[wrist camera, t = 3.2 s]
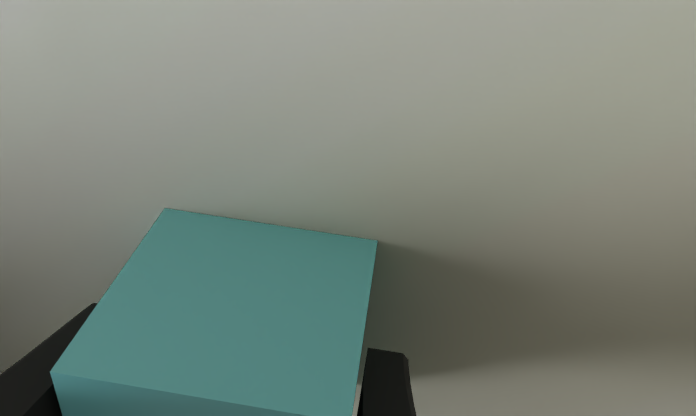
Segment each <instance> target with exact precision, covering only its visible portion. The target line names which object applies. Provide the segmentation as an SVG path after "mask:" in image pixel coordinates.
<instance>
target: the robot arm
mask: <svg viewBox="0 0 696 416" xmlns="http://www.w3.org/2000/svg"><path fill="white" fill-rule="evenodd" d="M97 304H98V303H93V304H91V305H90V306H88V307H87V308H86V309H85V310H83V311H82V312H81V313H79V314H78V315H77V316H75V317H74V318H73V319H72V320H70V321H69V322H68V323H66V324H65V325H64V326H63V327H61V328H60V329H59V330H58V331H56V332H55V333H54V334H52V335H51V336H50V337H49V338H47V339H46V340H45V341H44V342H42V343H41V344H40V345H38V346H37V347H36V348H35V349H33V350H32V351H31V352H29V353H28V354H27V355H26V356H24V357H23V358H22V359H21V360H19V361H18V362H17V363H15V364H14V365H13V366H11V367H10V368H9V369H7V370H6V371H5V372H3V373H2V374H1V375H0V416H62V412H61V409H60V405H59V402H58V398H57V395H56V391H55V388H54V384H53V381H52V377H51V374H50V371H51V370H52V368H53V367H54V365H55V364H56V362H57V361H58V360H59V358H60V357H61V355H62V354H63V352H64V351H65V350H66V348H67V347H68V345H69V344H70V342H71V341H72V340H73V338H74V337H75V335H76V334H77V333H78V331H79V330H80V328H81V327H82V325H83V324H84V323H85V321H86V320H87V318H88V317H89V315H90V314H91V313H92V311H93V310H94V308H95V307H96V305H97ZM357 416H416V412H415V407H414V402H413V396H412V390H411V384H410V376H409V366H408V359H407V357H406V356H405V355H404V354H403V353H397V352H391V351H385V350H379V349H373V348H368V351H367V357H366V363H365V369H364V376H363V382H362V388H361V394H360V401H359V407H358V413H357Z"/></svg>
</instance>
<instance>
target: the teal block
mask: <svg viewBox="0 0 696 416" xmlns="http://www.w3.org/2000/svg"><path fill="white" fill-rule="evenodd" d="M377 242H378V241H376V240H370V239H363V238H357V237H350V236H344V235H337V234H330V233H324V232H317V231H311V230H304V229H298V228H291V227H285V226H278V225H272V224H265V223H259V222H252V221H246V220H239V219H233V218H226V217H219V216H213V215H206V214H200V213H193V212H187V211H180V210H174V209H167V208H165V209H164V210H163V212H162V213H161V214H160V216H159V217H158V219H157V220H156V221H155V223H154V224H153V226H152V227H151V229H150V230H149V231H148V233H147V234H146V236H145V237H144V239H143V240H142V241H141V243H140V244H139V246H138V247H137V249H136V250H135V251H134V253H133V254H132V256H131V257H130V258H129V260H128V261H127V263H126V264H125V266H124V267H123V268H122V270H121V271H120V273H119V274H118V276H117V277H116V278H115V280H114V281H113V283H112V284H111V286H110V287H109V288H108V290H107V291H106V293H105V294H104V296H103V297H102V298H101V300H100V301H99V303H98V304H97V305H96V307H95V308H94V310H93V311H92V313H91V314H90V315H89V317H88V318H87V320H86V321H85V323H84V324H83V325H82V327H81V328H80V330H79V331H78V333H77V334H76V335H75V337H74V338H73V340H72V341H71V342H70V344H69V345H68V347H67V348H66V350H65V351H64V352H63V354H62V355H61V357H60V358H59V360H58V361H57V362H56V364H55V365H54V367H53V368H52V370H51V371H50V374H51V377H52V381H53V384H54V388H55V391H56V395H57V398H58V402H59V405H60V409H61V412H62V416H352V411H353V405H354V398H355V391H356V384H357V378H358V371H359V364H360V357H361V350H362V344H363V337H364V330H365V323H366V317H367V310H368V303H369V296H370V289H371V283H372V276H373V269H374V262H375V256H376V249H377Z"/></svg>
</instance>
